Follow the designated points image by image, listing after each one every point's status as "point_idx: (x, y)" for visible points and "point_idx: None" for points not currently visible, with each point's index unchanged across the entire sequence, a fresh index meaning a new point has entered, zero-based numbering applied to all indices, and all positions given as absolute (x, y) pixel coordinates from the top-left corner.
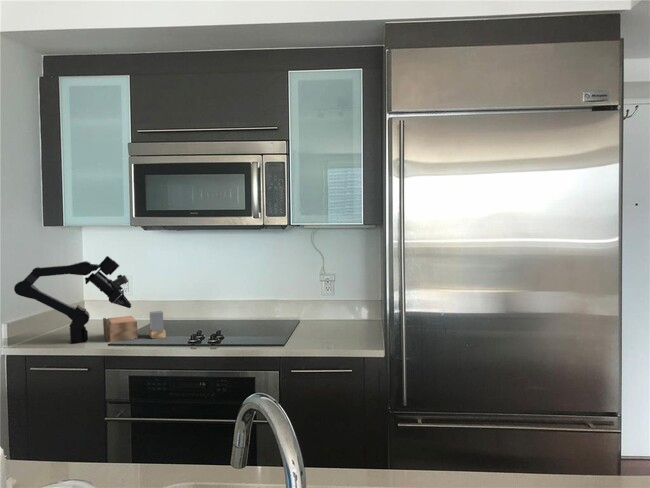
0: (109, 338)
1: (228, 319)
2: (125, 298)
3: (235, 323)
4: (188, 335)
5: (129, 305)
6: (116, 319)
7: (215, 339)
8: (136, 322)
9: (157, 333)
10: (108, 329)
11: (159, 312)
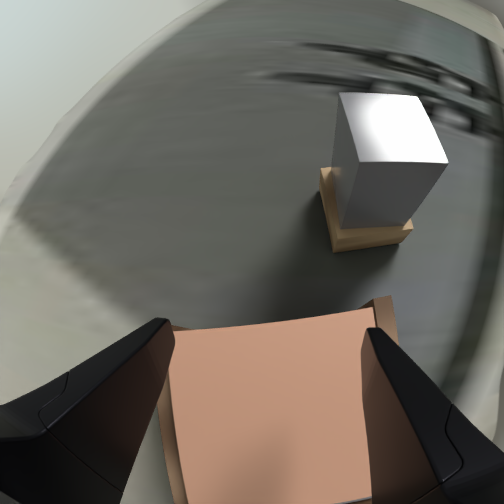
0: None
1: (157, 42)
2: (92, 403)
3: (225, 25)
4: None
5: (393, 353)
6: (302, 463)
7: (440, 75)
8: (389, 300)
9: None
10: None
11: (415, 110)
